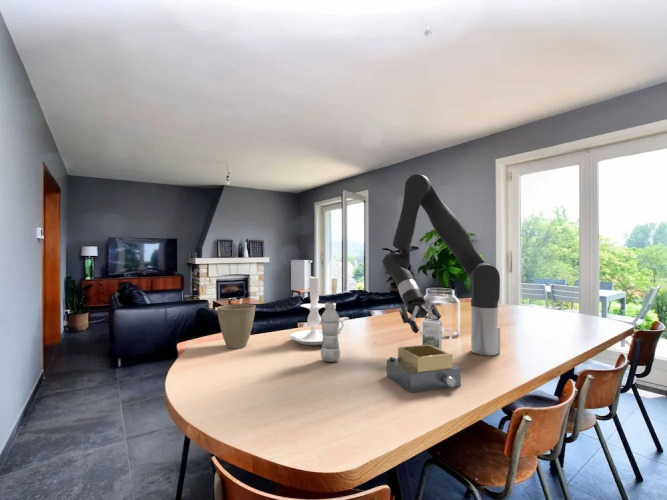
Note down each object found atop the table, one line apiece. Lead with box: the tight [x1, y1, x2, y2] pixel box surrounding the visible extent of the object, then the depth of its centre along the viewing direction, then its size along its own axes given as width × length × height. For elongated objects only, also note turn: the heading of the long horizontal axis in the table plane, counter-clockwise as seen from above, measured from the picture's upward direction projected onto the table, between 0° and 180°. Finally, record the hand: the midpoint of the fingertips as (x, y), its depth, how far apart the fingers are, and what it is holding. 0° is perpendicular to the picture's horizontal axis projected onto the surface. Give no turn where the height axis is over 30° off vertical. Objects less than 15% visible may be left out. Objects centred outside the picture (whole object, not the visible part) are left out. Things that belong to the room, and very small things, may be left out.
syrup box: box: [421, 318, 443, 350], centre depth 119 cm, size 6×6×14 cm
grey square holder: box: [386, 344, 462, 394], centre depth 102 cm, size 16×17×9 cm
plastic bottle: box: [320, 302, 341, 363], centre depth 122 cm, size 6×7×20 cm
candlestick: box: [289, 275, 345, 346], centre depth 147 cm, size 21×25×28 cm
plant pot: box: [216, 303, 256, 350], centre depth 141 cm, size 15×15×16 cm
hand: (427, 331), depth 121 cm, fingers open, 8 cm apart
